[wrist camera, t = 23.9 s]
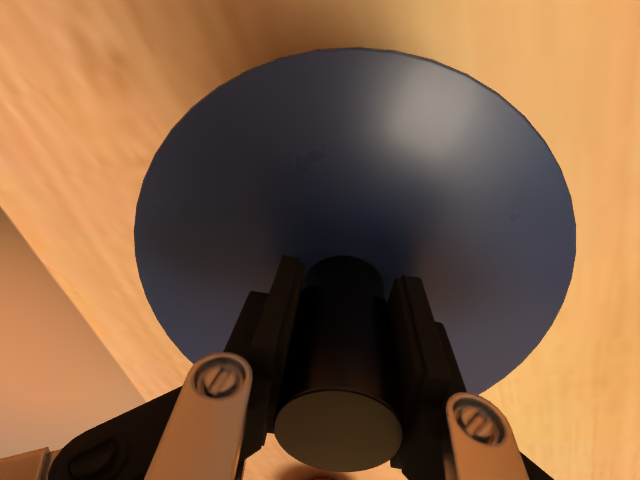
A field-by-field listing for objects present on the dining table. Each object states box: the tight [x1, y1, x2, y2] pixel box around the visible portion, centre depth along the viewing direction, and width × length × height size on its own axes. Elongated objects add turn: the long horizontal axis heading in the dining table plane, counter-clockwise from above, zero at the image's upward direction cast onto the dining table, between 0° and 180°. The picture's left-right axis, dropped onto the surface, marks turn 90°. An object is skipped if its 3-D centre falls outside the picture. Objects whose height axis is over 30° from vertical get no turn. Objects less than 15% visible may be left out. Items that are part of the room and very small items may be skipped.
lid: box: [134, 47, 576, 472], centre depth 10 cm, size 15×15×6 cm
